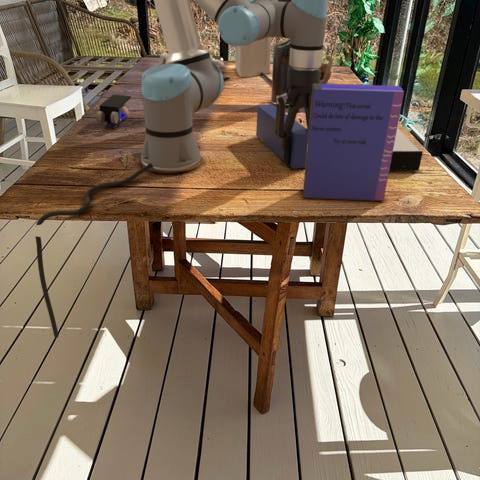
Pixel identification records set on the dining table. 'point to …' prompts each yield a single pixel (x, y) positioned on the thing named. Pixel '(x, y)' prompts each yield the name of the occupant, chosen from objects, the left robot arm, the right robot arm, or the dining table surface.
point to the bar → (268, 136)
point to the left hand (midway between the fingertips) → (296, 161)
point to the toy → (164, 55)
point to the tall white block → (253, 58)
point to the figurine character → (113, 110)
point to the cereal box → (351, 141)
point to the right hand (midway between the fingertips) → (280, 26)
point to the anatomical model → (326, 70)
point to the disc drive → (405, 154)
